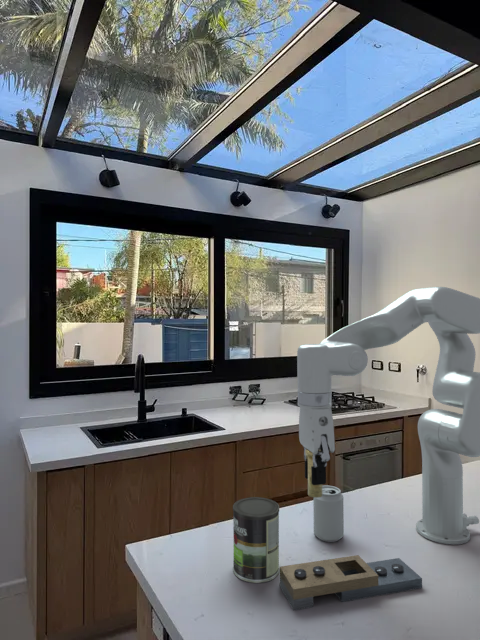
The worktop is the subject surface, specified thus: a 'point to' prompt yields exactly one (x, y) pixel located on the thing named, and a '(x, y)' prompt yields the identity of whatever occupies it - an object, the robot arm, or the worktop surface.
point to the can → (329, 514)
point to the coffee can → (256, 539)
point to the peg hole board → (345, 579)
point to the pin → (312, 489)
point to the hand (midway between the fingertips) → (315, 480)
